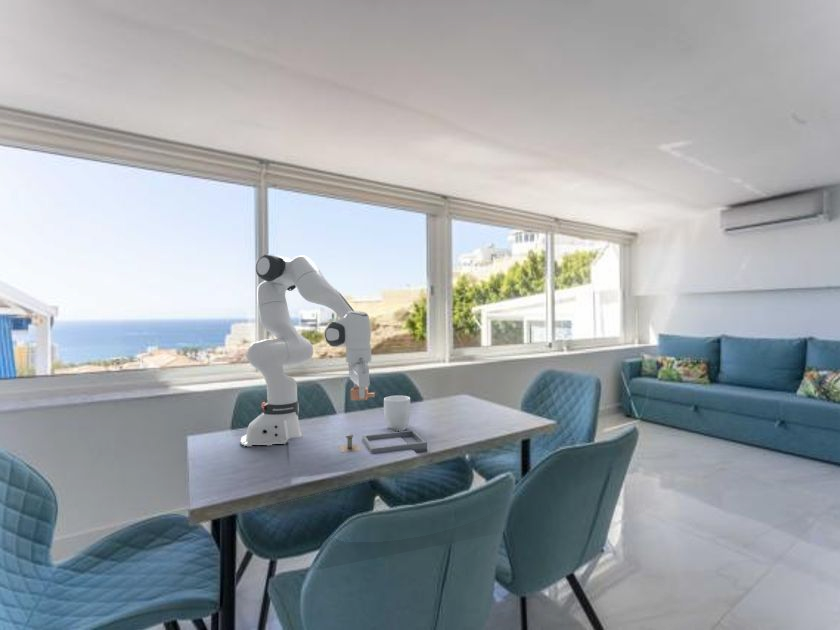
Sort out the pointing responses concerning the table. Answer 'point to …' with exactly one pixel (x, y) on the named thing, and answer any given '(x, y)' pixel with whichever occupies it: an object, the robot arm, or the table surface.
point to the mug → (397, 412)
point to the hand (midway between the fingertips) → (359, 396)
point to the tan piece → (355, 394)
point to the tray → (408, 436)
